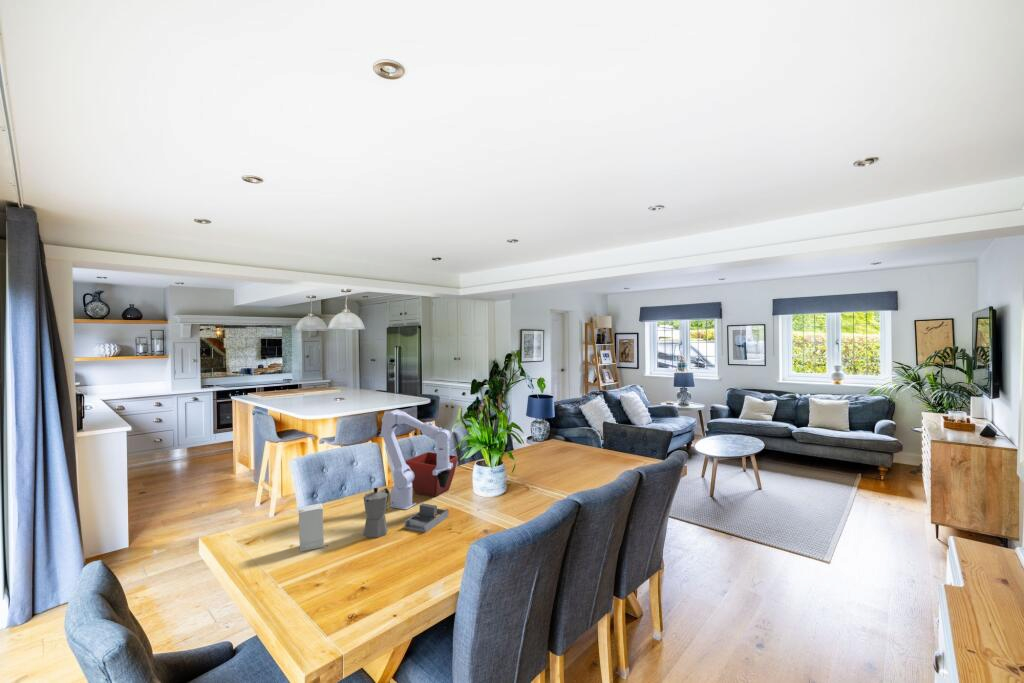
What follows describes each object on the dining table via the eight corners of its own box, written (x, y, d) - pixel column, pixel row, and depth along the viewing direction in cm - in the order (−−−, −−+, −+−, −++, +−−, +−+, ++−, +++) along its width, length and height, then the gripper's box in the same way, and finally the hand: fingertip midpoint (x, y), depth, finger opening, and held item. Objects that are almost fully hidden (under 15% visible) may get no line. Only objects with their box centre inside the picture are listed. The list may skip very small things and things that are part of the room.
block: (419, 519, 193) (419, 505, 193) (422, 517, 195) (422, 503, 195) (433, 522, 191) (433, 507, 191) (436, 520, 193) (436, 505, 193)
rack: (404, 528, 187) (404, 519, 187) (428, 513, 203) (428, 504, 203) (425, 532, 183) (425, 523, 183) (448, 516, 200) (448, 507, 200)
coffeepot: (376, 541, 175) (376, 494, 174) (355, 538, 177) (355, 491, 177) (398, 526, 189) (398, 482, 189) (378, 523, 192) (378, 480, 192)
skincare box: (322, 541, 175) (322, 502, 175) (323, 548, 169) (324, 507, 169) (298, 545, 171) (298, 505, 171) (298, 552, 166) (298, 511, 165)
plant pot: (436, 500, 219) (437, 465, 219) (404, 494, 227) (404, 460, 227) (458, 488, 236) (458, 456, 236) (427, 483, 245) (427, 451, 244)
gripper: (442, 461, 200) (442, 493, 200) (458, 454, 214) (458, 483, 214) (428, 460, 203) (428, 490, 203) (445, 452, 216) (445, 481, 217)
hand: (442, 487), depth 209 cm, fingers closed
